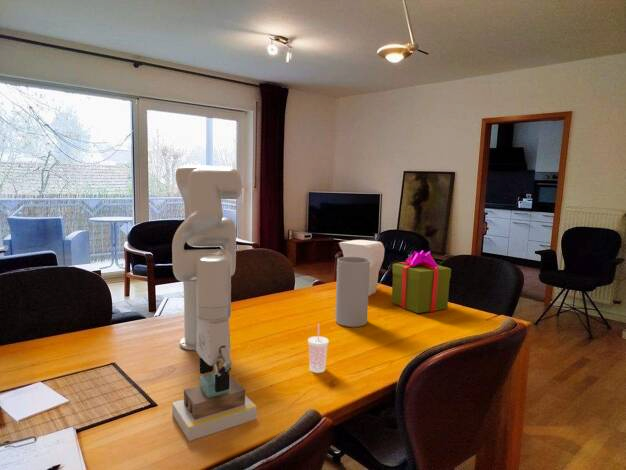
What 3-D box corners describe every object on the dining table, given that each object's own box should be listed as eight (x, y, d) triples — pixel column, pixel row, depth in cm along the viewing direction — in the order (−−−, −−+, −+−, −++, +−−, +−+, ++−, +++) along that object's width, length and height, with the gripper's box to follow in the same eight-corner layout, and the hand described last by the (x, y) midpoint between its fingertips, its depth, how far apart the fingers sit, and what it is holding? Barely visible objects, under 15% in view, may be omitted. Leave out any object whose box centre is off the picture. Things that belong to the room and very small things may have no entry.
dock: (235, 396, 109) (235, 384, 109) (256, 418, 99) (256, 406, 99) (172, 414, 100) (172, 402, 100) (189, 441, 90) (188, 427, 90)
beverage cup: (320, 375, 122) (322, 328, 120) (303, 370, 125) (304, 324, 123) (331, 368, 127) (333, 322, 125) (314, 362, 130) (315, 318, 128)
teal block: (220, 383, 102) (220, 371, 102) (228, 392, 98) (228, 379, 98) (200, 388, 99) (200, 376, 99) (207, 398, 95) (207, 385, 95)
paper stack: (329, 293, 209) (331, 241, 205) (364, 284, 227) (366, 236, 224) (363, 303, 194) (366, 247, 190) (397, 292, 213) (400, 242, 209)
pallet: (232, 390, 106) (232, 377, 105) (245, 404, 100) (245, 390, 99) (183, 404, 99) (183, 389, 99) (194, 419, 93) (194, 404, 92)
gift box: (414, 297, 205) (417, 245, 202) (452, 308, 189) (456, 252, 186) (385, 304, 192) (388, 249, 189) (424, 317, 176) (428, 257, 173)
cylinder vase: (330, 324, 164) (332, 261, 161) (340, 315, 176) (343, 255, 172) (362, 329, 159) (365, 264, 156) (370, 319, 171) (373, 258, 168)
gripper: (185, 302, 101) (186, 369, 104) (212, 325, 87) (212, 403, 90) (215, 297, 105) (215, 362, 108) (245, 319, 91) (244, 393, 94)
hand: (214, 381), depth 99 cm, fingers open, 9 cm apart
